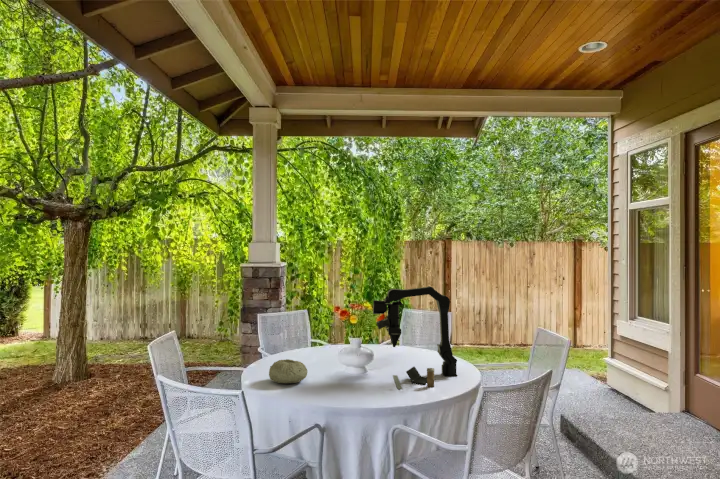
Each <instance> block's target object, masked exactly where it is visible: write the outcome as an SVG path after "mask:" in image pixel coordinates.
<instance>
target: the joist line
mask: <svg viewBox="0 0 720 479" xmlns="http://www.w3.org/2000/svg"><path fill="white" fill-rule="evenodd" d="M392 376H393V379H394V382H395V385H396V388H397V390H402V389H403V387H402V385H401V382H400V379H399V377H398V375H397V374H393V375H392Z"/></svg>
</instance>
